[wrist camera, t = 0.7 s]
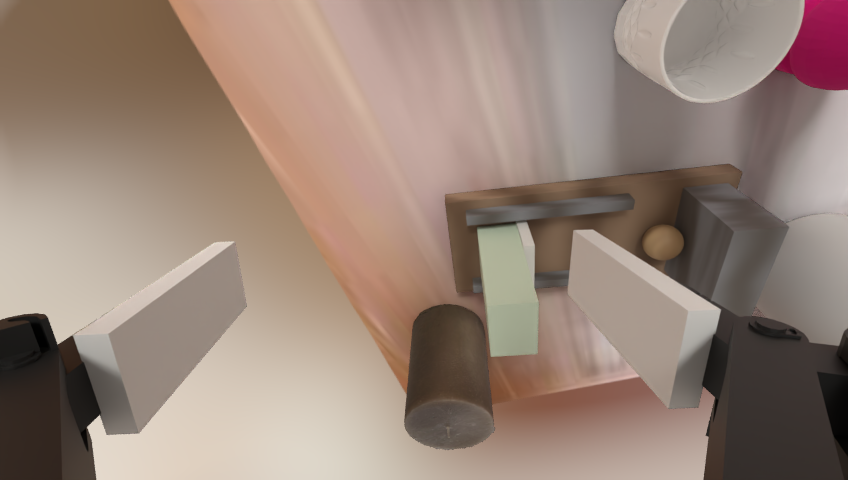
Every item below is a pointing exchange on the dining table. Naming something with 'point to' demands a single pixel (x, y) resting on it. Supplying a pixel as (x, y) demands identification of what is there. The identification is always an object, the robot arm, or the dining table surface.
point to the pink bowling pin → (820, 46)
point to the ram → (509, 288)
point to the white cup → (707, 43)
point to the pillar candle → (448, 380)
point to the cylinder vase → (811, 278)
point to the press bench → (633, 229)
